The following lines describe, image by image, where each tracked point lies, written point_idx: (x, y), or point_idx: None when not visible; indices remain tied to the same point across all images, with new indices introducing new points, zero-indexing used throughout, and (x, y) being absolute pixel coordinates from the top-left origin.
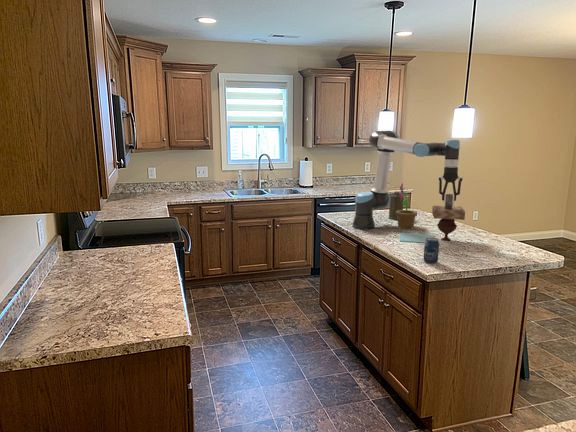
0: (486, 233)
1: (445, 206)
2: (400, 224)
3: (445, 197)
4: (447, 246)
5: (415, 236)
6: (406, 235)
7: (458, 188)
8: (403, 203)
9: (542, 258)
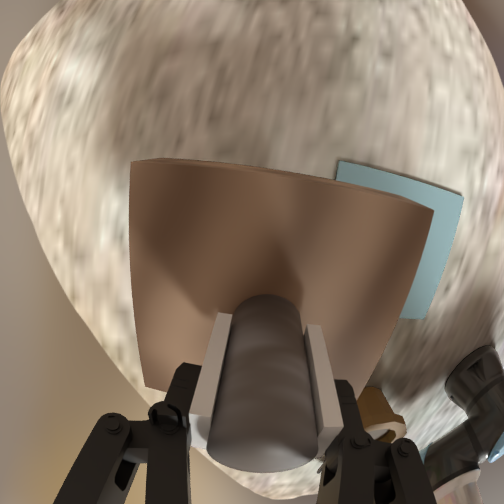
0: (98, 334)
1: (301, 328)
2: (385, 398)
3: (324, 404)
4: (291, 109)
5: None
6: (418, 282)
7: (92, 501)
8: None
9: (30, 51)
